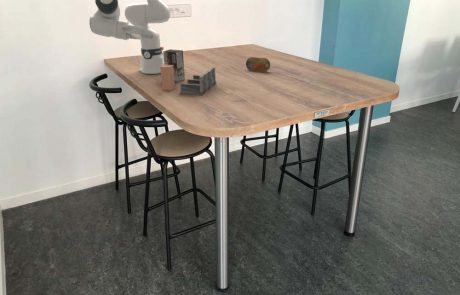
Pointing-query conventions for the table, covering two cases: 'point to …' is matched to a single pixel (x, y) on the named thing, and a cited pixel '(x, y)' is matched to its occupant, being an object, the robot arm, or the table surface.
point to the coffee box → (175, 63)
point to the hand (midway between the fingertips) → (152, 35)
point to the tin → (257, 64)
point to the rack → (199, 83)
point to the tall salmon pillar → (167, 77)
